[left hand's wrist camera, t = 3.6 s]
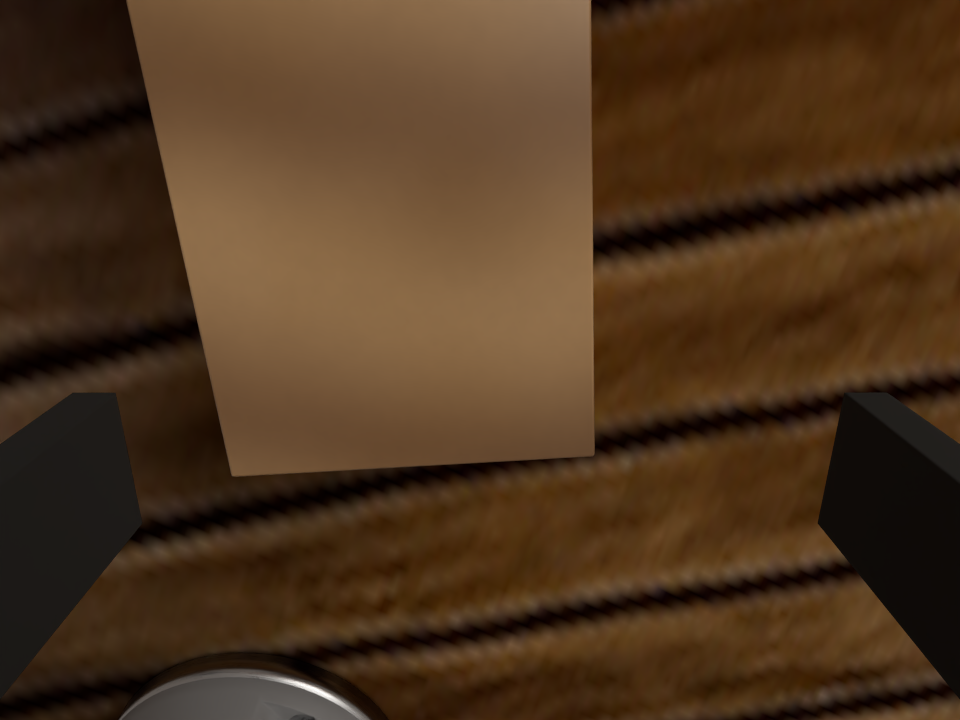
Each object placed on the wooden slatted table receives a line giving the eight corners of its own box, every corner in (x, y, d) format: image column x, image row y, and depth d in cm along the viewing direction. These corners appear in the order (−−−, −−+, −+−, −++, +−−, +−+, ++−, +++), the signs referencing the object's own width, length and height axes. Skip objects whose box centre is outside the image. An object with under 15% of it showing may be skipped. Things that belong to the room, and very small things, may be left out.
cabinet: (211, -226, 21) (23, -455, 13) (543, -254, 21) (587, -507, 12) (308, 362, 28) (231, 477, 19) (559, 347, 28) (595, 457, 19)
